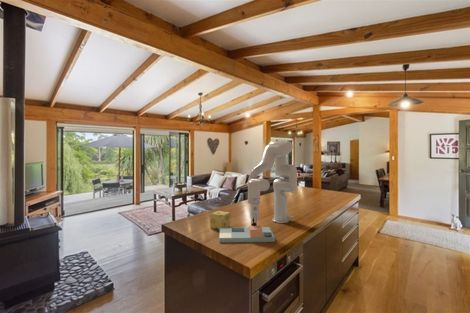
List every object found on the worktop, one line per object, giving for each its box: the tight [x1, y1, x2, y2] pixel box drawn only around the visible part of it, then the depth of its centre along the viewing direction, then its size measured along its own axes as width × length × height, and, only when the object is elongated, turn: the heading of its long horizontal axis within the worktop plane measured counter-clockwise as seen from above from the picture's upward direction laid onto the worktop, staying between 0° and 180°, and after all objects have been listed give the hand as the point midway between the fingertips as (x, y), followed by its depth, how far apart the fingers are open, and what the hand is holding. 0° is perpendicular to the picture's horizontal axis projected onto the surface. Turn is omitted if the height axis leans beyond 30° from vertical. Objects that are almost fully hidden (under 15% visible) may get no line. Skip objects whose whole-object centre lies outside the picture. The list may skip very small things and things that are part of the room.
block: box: [248, 225, 263, 238], centre depth 137 cm, size 7×7×4 cm
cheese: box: [209, 210, 232, 231], centre depth 159 cm, size 10×11×10 cm
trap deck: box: [218, 226, 276, 243], centre depth 142 cm, size 32×18×2 cm, turn 93°
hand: (253, 229), depth 143 cm, fingers closed
